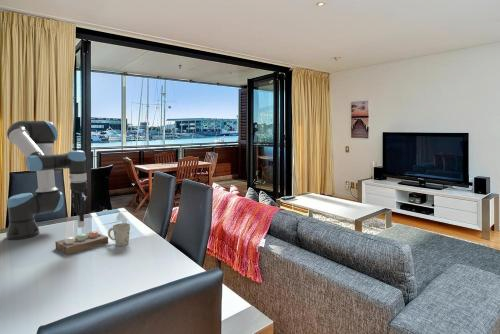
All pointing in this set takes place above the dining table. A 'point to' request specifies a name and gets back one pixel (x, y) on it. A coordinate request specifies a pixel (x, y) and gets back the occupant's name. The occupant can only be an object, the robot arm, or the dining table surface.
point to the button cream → (69, 240)
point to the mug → (120, 233)
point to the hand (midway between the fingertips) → (81, 226)
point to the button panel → (81, 244)
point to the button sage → (81, 237)
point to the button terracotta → (93, 234)
